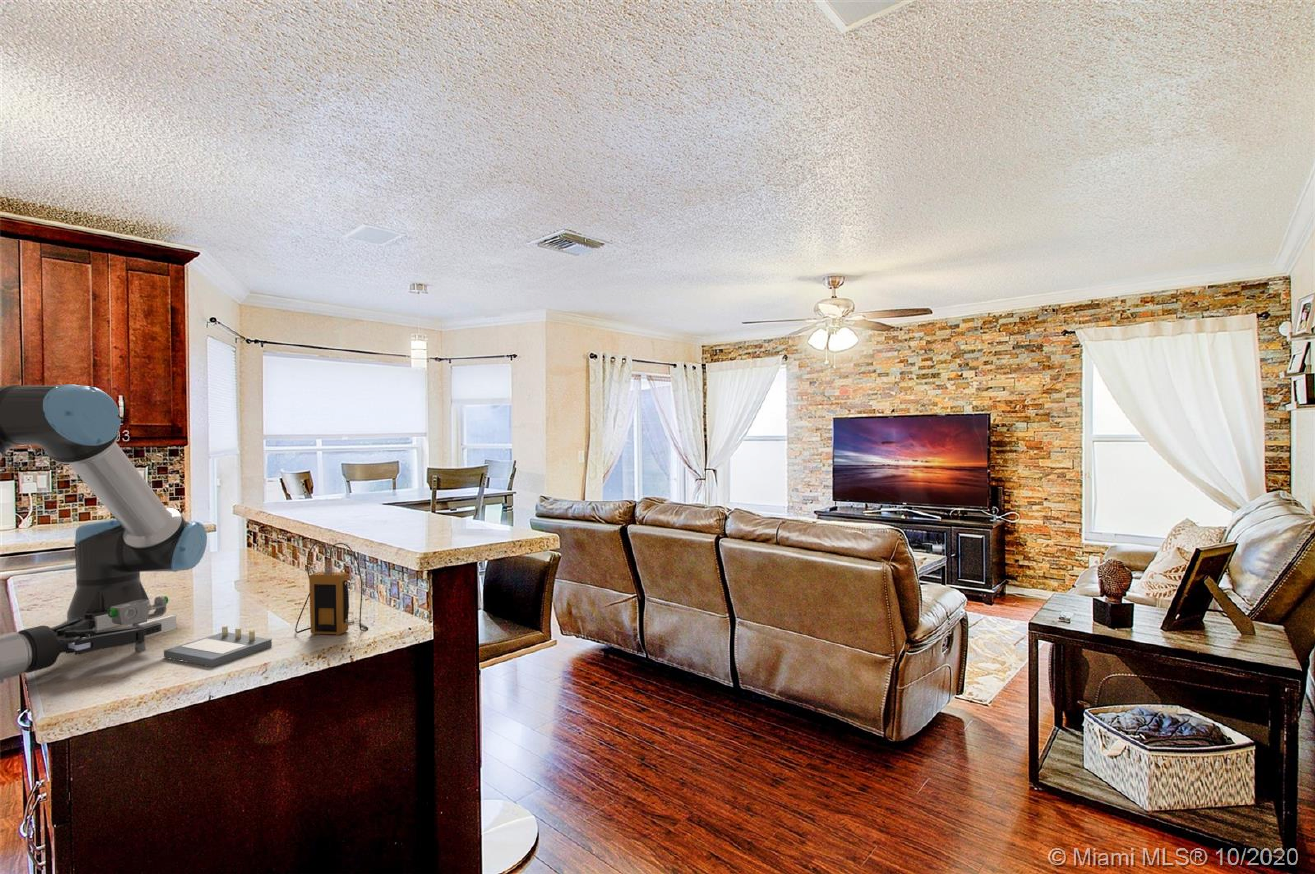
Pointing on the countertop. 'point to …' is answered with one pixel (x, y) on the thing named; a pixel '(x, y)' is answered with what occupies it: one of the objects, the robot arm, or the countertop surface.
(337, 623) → the multimeter
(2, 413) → the robot arm
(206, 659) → the board
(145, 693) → the countertop surface
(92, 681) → the countertop surface
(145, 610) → the mechanical component
